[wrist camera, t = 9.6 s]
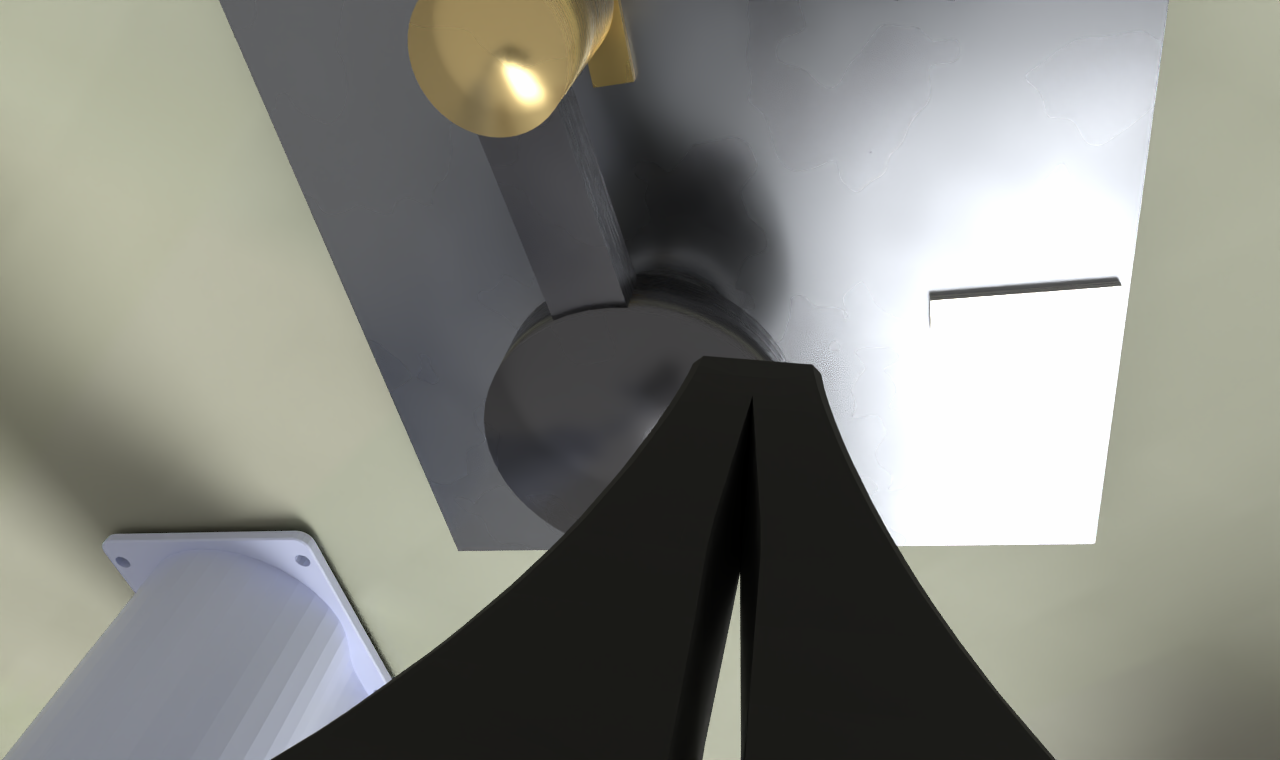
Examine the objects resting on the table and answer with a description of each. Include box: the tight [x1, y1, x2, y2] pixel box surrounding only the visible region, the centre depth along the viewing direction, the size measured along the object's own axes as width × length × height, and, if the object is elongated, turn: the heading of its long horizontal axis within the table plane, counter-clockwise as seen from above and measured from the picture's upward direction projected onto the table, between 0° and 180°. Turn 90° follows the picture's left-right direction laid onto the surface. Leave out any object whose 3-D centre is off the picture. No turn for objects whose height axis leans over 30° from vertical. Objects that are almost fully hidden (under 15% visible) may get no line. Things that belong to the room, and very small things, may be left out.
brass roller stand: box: [408, 0, 787, 533], centre depth 17 cm, size 12×6×4 cm, turn 17°
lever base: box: [219, 0, 1169, 551], centre depth 19 cm, size 17×17×4 cm
